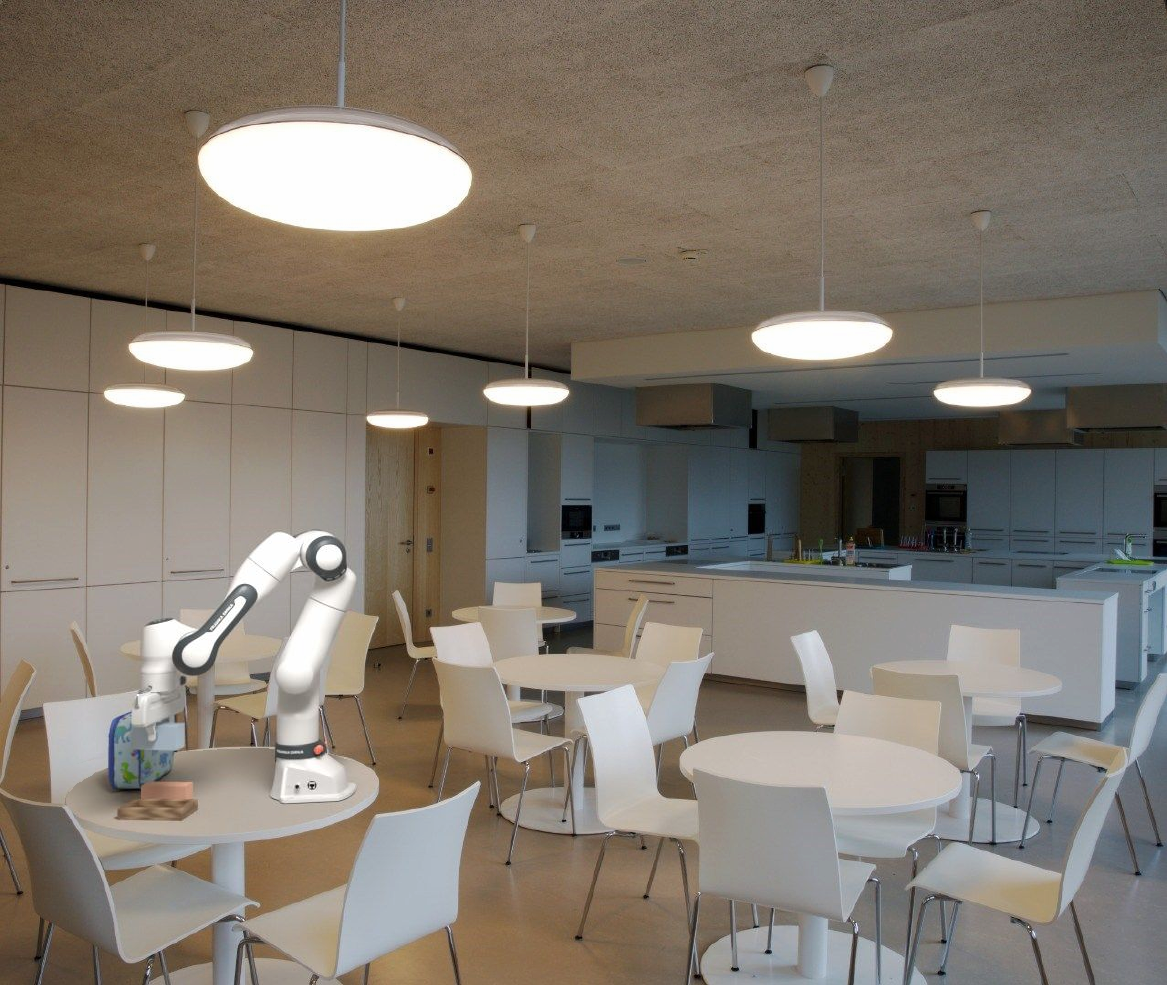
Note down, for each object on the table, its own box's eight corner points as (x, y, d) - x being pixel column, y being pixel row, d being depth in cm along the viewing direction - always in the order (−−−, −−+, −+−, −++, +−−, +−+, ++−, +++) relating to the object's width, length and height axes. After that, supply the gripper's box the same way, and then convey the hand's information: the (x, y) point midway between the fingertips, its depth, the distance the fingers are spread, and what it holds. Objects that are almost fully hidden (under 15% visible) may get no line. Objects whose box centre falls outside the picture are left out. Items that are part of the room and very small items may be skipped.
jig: (197, 809, 239) (197, 799, 239) (181, 820, 231) (181, 809, 231) (135, 808, 240) (135, 798, 240) (117, 819, 232) (117, 808, 232)
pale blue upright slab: (184, 746, 238) (184, 722, 238) (175, 750, 234) (176, 726, 234) (140, 745, 239) (141, 721, 239) (131, 749, 235) (131, 725, 235)
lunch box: (142, 769, 278) (142, 698, 279) (179, 768, 279) (179, 698, 279) (102, 795, 252) (102, 717, 253) (142, 794, 253) (143, 716, 253)
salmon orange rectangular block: (192, 800, 247) (192, 781, 247) (185, 805, 243) (185, 786, 243) (148, 800, 248) (149, 781, 248) (140, 805, 244) (141, 785, 244)
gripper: (149, 690, 226) (148, 747, 226) (190, 676, 247) (190, 728, 246) (124, 690, 227) (123, 747, 226) (167, 675, 247) (167, 728, 247)
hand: (158, 737), depth 236 cm, fingers closed on pale blue upright slab, 4 cm apart
